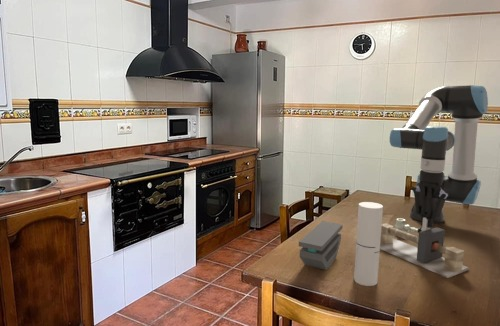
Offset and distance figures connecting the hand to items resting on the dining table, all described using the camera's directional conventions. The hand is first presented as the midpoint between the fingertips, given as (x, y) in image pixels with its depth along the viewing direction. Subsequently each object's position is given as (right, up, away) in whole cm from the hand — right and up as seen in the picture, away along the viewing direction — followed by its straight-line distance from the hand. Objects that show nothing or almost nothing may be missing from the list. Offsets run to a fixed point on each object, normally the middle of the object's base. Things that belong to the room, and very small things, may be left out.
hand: (425, 234), depth 133 cm
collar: (+1, -8, -1) cm, 8 cm away
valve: (+5, -6, +26) cm, 27 cm away
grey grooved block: (-38, -10, -1) cm, 39 cm away
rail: (-2, -9, +4) cm, 10 cm away
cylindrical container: (-26, -12, -15) cm, 32 cm away
